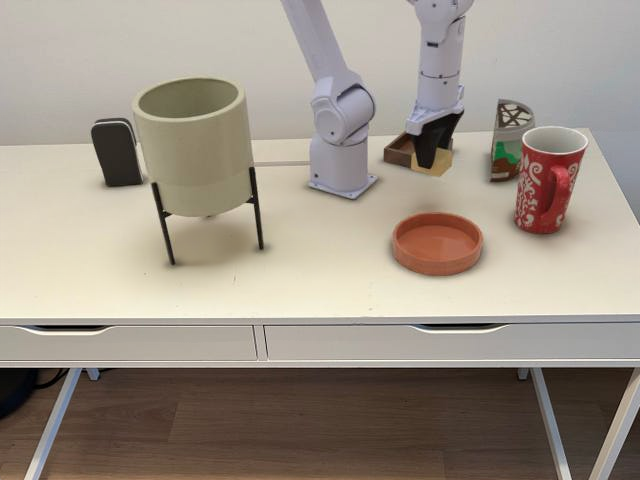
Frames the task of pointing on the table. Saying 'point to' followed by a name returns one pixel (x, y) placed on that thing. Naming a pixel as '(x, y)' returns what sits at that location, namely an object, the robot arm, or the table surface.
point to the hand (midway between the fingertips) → (431, 160)
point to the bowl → (437, 243)
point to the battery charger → (116, 151)
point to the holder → (403, 150)
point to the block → (435, 163)
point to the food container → (509, 138)
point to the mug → (547, 177)
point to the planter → (197, 148)
